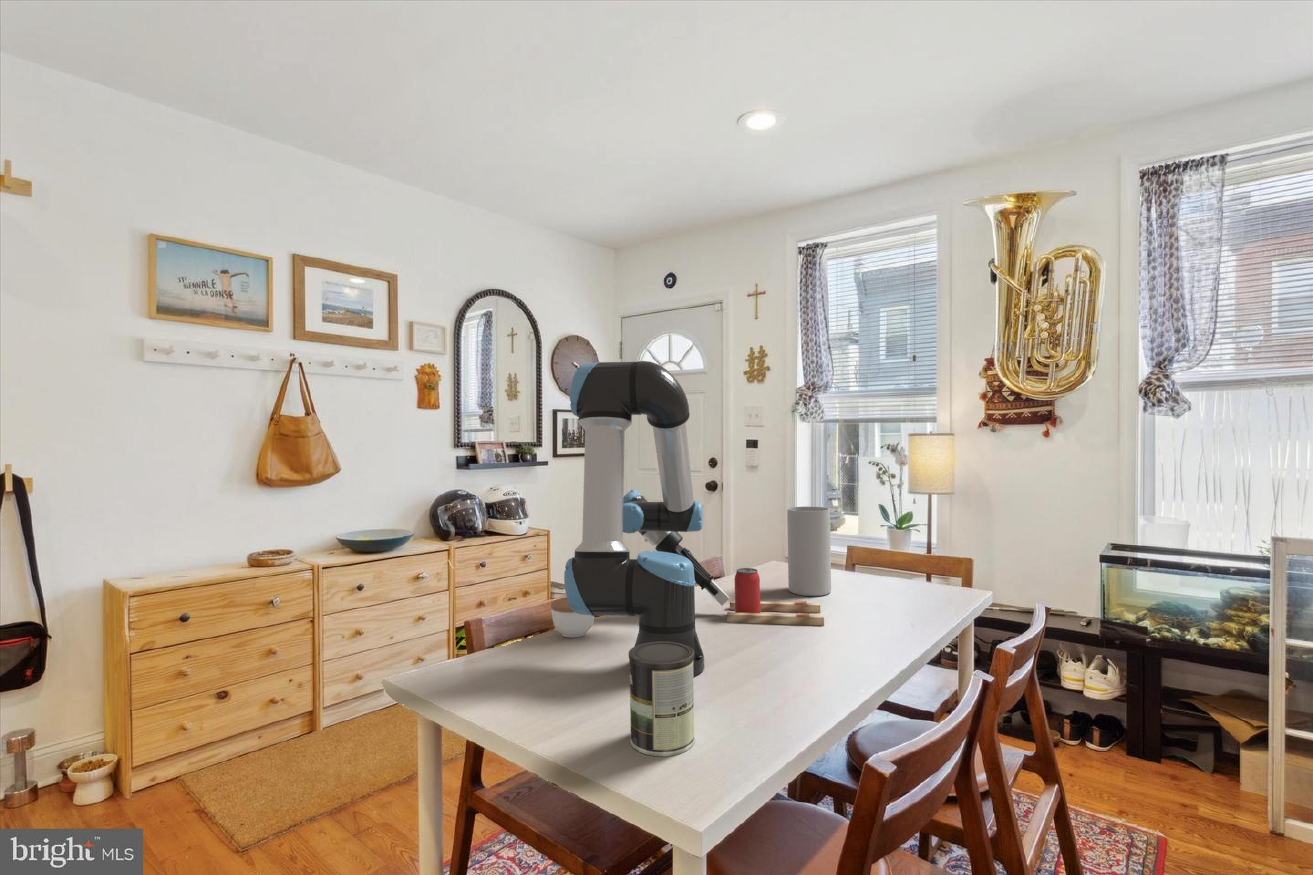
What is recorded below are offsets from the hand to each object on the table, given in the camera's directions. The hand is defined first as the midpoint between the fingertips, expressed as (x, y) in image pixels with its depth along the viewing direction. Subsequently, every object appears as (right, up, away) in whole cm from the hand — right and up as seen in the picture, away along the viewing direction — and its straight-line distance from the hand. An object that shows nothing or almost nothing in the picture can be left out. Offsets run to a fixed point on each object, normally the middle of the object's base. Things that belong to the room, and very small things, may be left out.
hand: (725, 601), depth 170 cm
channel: (+13, -3, -3) cm, 13 cm away
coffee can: (-17, -4, -70) cm, 72 cm away
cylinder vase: (+28, -3, +22) cm, 36 cm away
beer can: (+6, -3, -2) cm, 7 cm away
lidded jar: (-39, -4, -15) cm, 42 cm away
